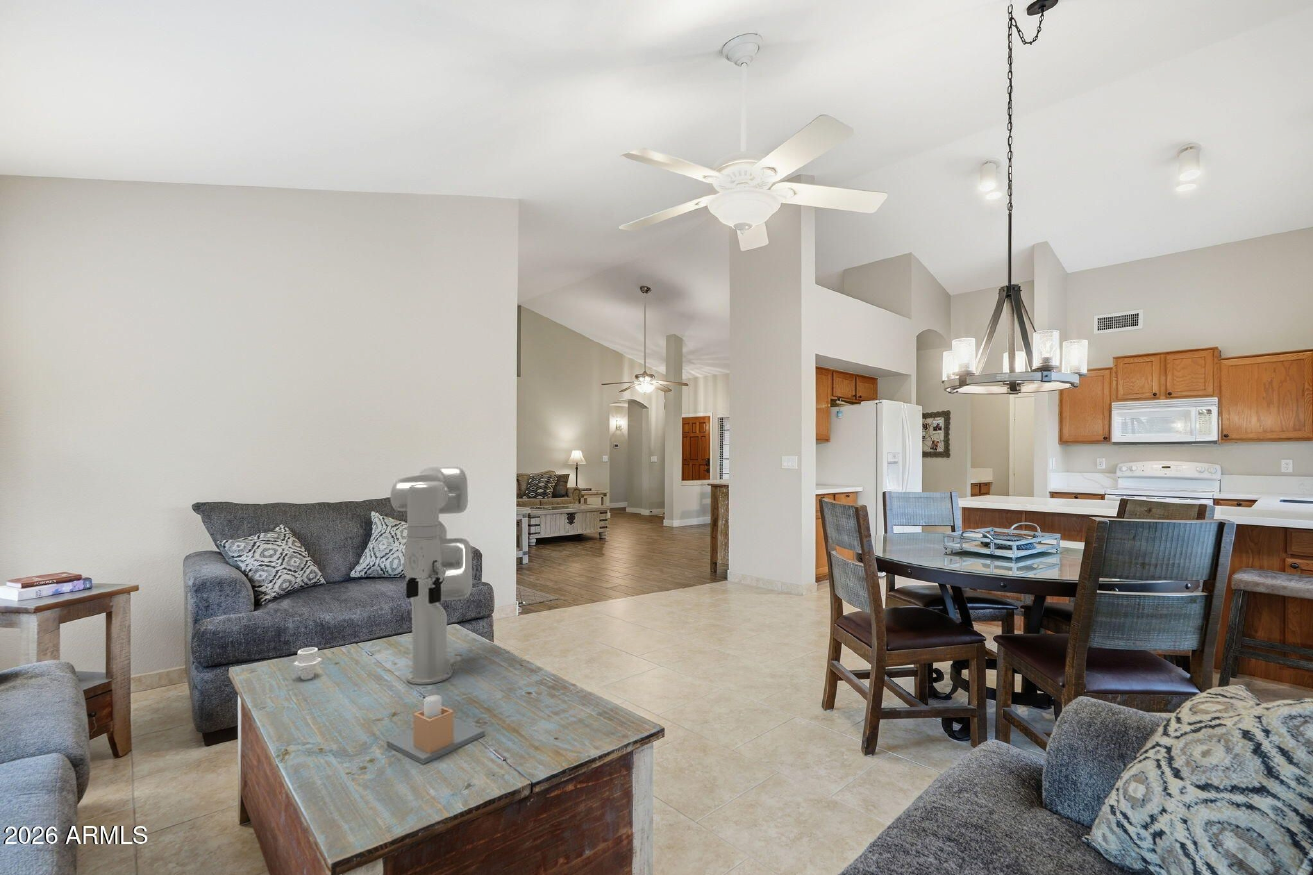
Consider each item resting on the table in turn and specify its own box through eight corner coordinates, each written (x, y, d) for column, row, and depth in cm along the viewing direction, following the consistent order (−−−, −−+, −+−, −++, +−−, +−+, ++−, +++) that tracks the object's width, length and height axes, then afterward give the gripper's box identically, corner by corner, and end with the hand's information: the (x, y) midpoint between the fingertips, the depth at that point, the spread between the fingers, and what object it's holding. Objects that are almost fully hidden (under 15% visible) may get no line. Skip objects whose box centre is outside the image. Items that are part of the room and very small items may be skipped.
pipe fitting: (310, 672, 183) (310, 645, 183) (325, 675, 179) (325, 648, 179) (289, 679, 177) (289, 651, 177) (304, 683, 174) (304, 655, 174)
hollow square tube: (413, 745, 134) (413, 713, 134) (437, 735, 139) (437, 704, 139) (429, 753, 131) (429, 720, 131) (453, 742, 135) (453, 710, 136)
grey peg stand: (448, 719, 150) (448, 673, 150) (484, 735, 141) (484, 686, 142) (386, 745, 137) (386, 695, 137) (422, 764, 128) (422, 710, 129)
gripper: (390, 531, 157) (390, 598, 157) (430, 536, 147) (430, 608, 146) (417, 528, 163) (417, 592, 163) (456, 533, 153) (456, 601, 153)
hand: (423, 599), depth 155 cm, fingers open, 9 cm apart
